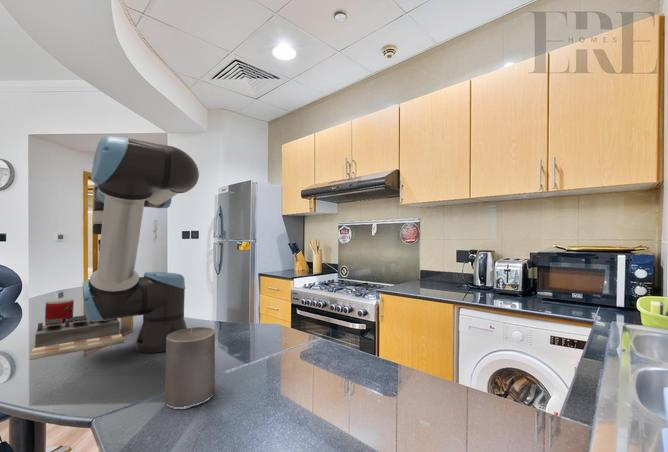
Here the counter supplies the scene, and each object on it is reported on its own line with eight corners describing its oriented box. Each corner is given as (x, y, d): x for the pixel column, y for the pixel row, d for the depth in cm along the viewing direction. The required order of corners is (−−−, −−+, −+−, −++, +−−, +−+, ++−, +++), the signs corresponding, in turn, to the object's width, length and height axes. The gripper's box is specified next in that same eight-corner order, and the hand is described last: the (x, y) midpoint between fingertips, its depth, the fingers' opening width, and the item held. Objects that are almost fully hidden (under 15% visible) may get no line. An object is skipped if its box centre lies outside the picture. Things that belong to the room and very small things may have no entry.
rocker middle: (87, 318, 103) (87, 314, 103) (73, 320, 100) (73, 316, 101) (86, 320, 109) (86, 316, 109) (72, 321, 107) (72, 317, 107)
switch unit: (123, 342, 102) (124, 320, 102) (30, 359, 88) (31, 333, 88) (117, 330, 116) (117, 310, 116) (35, 343, 101) (36, 320, 102)
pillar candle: (184, 385, 72) (185, 320, 73) (223, 388, 71) (223, 322, 71) (153, 408, 63) (154, 333, 63) (197, 412, 61) (198, 335, 62)
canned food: (67, 331, 115) (68, 301, 115) (40, 333, 112) (41, 302, 112) (76, 326, 122) (77, 297, 122) (50, 328, 119) (51, 299, 119)
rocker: (61, 322, 98) (61, 317, 99) (45, 324, 96) (46, 319, 96) (61, 323, 105) (61, 319, 105) (47, 325, 103) (47, 320, 103)
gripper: (120, 223, 111) (118, 290, 109) (116, 224, 120) (114, 286, 119) (94, 222, 106) (91, 292, 105) (91, 223, 116) (89, 288, 114)
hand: (103, 288), depth 112 cm, fingers closed
